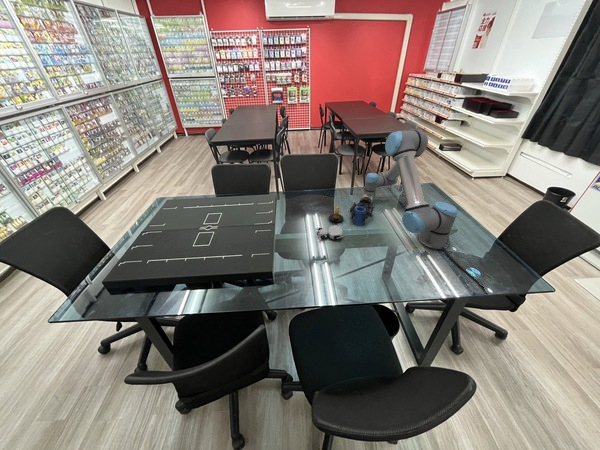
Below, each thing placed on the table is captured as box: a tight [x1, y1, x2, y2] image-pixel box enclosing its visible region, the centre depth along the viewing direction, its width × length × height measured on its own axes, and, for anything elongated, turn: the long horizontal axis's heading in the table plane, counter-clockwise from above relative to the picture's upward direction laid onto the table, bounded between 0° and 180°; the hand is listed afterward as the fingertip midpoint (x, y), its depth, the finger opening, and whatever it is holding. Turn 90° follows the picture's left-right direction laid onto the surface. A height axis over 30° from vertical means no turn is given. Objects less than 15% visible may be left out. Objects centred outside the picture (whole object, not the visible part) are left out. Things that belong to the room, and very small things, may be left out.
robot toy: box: [315, 223, 344, 241], centre depth 143 cm, size 12×4×15 cm
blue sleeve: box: [353, 206, 366, 227], centre depth 153 cm, size 6×6×10 cm
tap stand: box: [328, 205, 344, 225], centre depth 156 cm, size 9×9×10 cm
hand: (357, 218), depth 148 cm, fingers closed on blue sleeve, 6 cm apart
